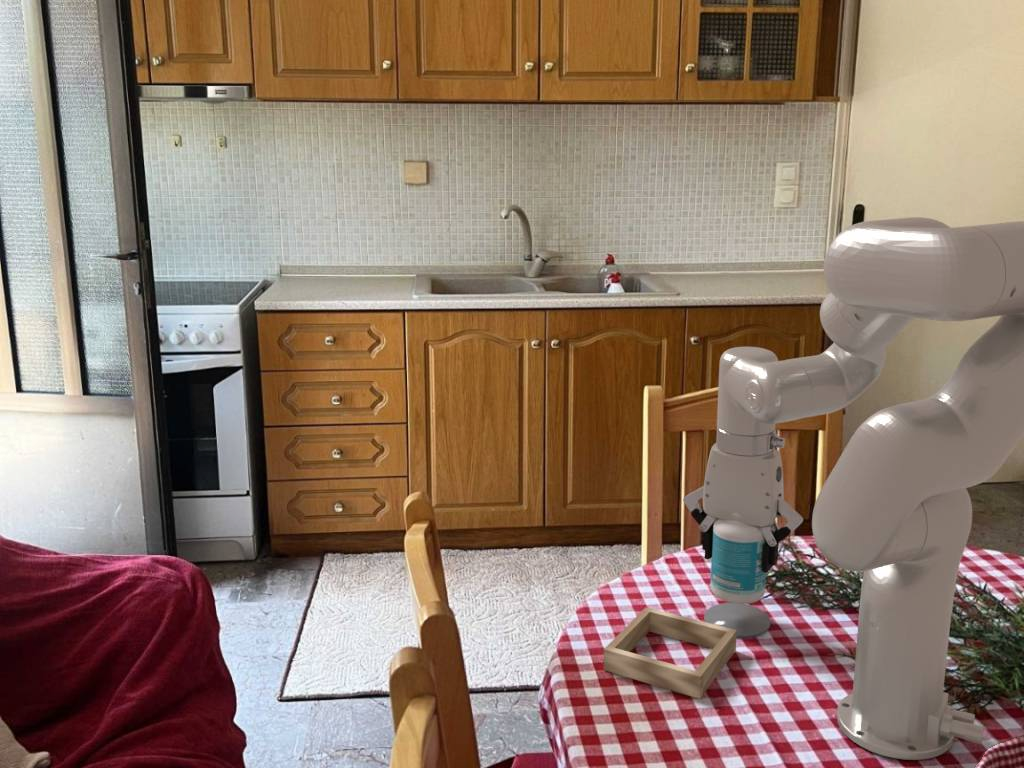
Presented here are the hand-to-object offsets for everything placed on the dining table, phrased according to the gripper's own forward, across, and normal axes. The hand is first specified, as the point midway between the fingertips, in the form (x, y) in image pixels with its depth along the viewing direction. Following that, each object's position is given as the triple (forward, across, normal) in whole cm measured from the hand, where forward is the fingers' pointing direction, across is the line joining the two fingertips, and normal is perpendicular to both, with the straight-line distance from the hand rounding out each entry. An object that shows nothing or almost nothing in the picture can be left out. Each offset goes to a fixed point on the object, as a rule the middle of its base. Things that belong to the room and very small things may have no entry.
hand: (738, 561), depth 137 cm
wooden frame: (+9, +4, +14) cm, 17 cm away
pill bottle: (+5, 0, 0) cm, 5 cm away
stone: (+9, 0, 0) cm, 9 cm away
